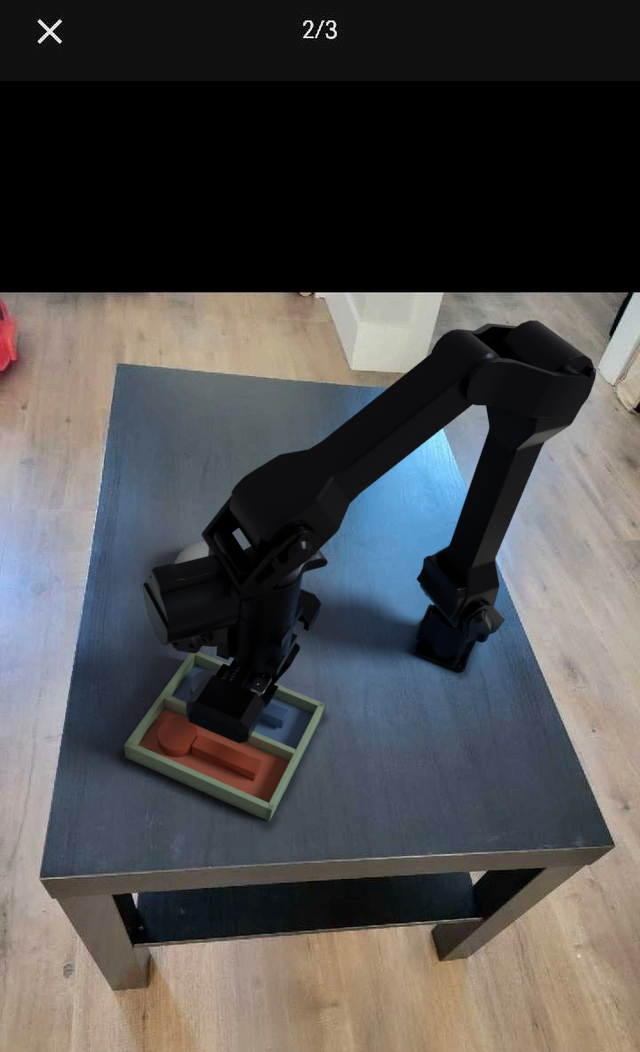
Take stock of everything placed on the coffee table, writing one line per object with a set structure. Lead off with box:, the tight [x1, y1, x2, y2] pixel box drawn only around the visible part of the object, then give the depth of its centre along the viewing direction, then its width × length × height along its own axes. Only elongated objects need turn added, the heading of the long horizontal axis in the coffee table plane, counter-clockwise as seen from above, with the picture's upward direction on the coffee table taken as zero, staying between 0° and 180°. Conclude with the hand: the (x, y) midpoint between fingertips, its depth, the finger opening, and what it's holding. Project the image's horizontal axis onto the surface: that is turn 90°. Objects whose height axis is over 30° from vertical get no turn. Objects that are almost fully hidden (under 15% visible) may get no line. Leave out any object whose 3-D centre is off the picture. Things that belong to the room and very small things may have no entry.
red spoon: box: [157, 717, 262, 781], centre depth 69 cm, size 11×4×2 cm, turn 68°
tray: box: [123, 651, 325, 822], centre depth 72 cm, size 16×14×2 cm
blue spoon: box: [190, 670, 289, 729], centre depth 73 cm, size 11×4×2 cm, turn 68°
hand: (252, 704), depth 73 cm, fingers closed on blue spoon, 2 cm apart
